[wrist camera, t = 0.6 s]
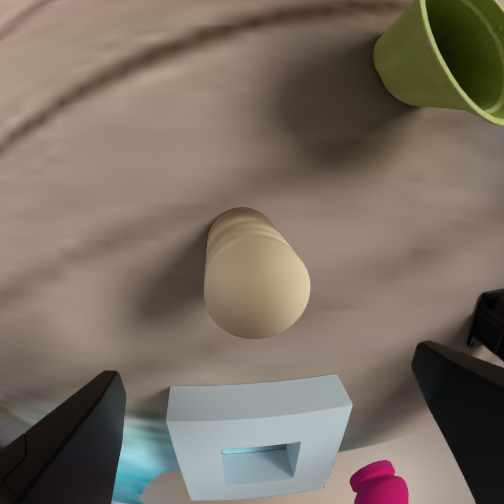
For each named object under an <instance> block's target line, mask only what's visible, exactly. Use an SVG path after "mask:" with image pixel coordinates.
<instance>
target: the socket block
mask: <svg viewBox="0 0 504 504" xmlns="http://www.w3.org/2000/svg"><path fill="white" fill-rule="evenodd" d="M352 406H353V404H352V402H351V400H350V398H349V396H348V394H347V392H346V391H345V389H344V387H343V385H342V383H341V381H340V379H339V377H338V376H337V374H333V375H326V376H319V377H312V378H304V379H295V380H286V381H276V382H265V383H252V384H237V385H216V386H171V387H170V394H169V401H168V409H167V416H166V423H167V427H168V430H169V434H170V437H171V441H172V444H173V447H174V451H175V454H176V457H177V460H178V463H179V466H180V469H181V472H182V475H183V478H184V481H185V484H186V487H187V490H188V493H189V495H190V498H191V500H192V501H213V500H214V501H215V500H238V499H251V498H262V497H271V496H279V495H286V494H293V493H299V492H305V491H310V490H315V489H320V488H325V485H326V483H327V480H328V478H329V475H330V472H331V470H332V467H333V464H334V461H335V459H336V456H337V453H338V450H339V447H340V444H341V441H342V438H343V435H344V432H345V429H346V426H347V423H348V419H349V416H350V413H351V409H352ZM280 444H287V446H286V449H281V450H273V451H264V452H253V453H239V454H223V449H235V448H250V447H261V446H271V445H280Z"/></svg>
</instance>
